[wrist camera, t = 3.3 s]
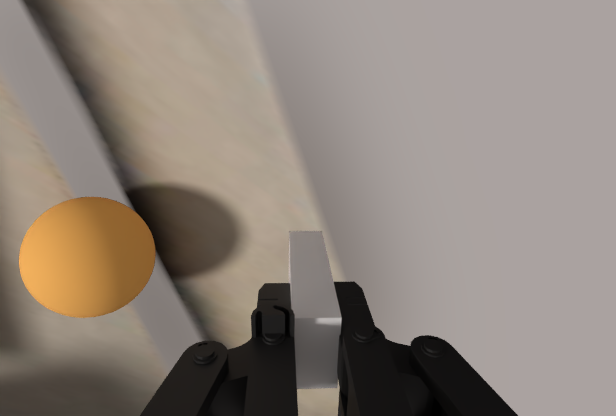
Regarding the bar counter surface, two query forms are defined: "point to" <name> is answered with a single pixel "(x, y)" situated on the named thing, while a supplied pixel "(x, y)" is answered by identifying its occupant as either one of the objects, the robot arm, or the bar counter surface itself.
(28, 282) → the ball
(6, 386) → the bar counter surface
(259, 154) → the bar counter surface
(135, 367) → the bar counter surface
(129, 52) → the bar counter surface
